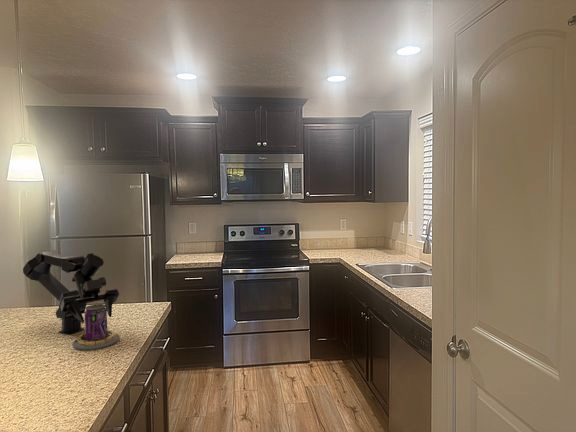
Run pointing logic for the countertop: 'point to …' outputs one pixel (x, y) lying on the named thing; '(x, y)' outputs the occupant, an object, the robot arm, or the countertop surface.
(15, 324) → the countertop surface
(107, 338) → the carrier plate
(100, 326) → the beverage can
